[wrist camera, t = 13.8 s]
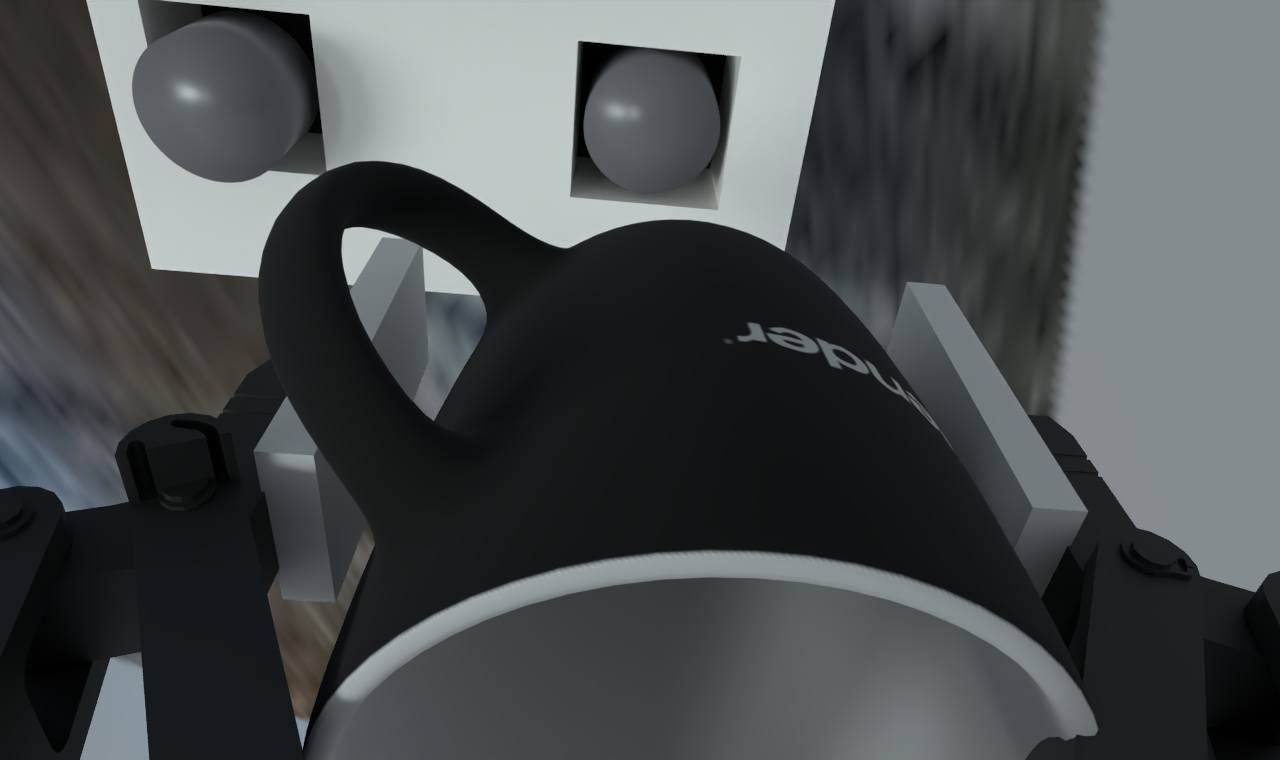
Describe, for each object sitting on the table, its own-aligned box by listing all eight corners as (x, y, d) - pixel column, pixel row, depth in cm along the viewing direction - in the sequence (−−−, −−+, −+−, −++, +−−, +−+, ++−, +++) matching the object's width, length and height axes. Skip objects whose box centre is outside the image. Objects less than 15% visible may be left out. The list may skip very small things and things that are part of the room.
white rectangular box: (201, 230, 34) (153, 276, 30) (120, -171, 26) (45, -168, 23) (756, 276, 35) (769, 326, 32) (826, -96, 28) (851, -83, 24)
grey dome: (584, 157, 31) (579, 187, 29) (591, 29, 29) (587, 50, 26) (704, 168, 32) (710, 199, 29) (722, 42, 29) (729, 64, 27)
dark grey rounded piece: (193, 144, 29) (150, 176, 26) (165, 3, 26) (115, 24, 24) (326, 156, 29) (296, 188, 27) (310, 17, 27) (276, 39, 24)
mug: (963, 378, 18) (1240, 861, 10) (643, 571, 22) (649, 1061, 13) (586, -113, 13) (501, 29, 5) (240, 235, 17) (-170, 682, 8)
